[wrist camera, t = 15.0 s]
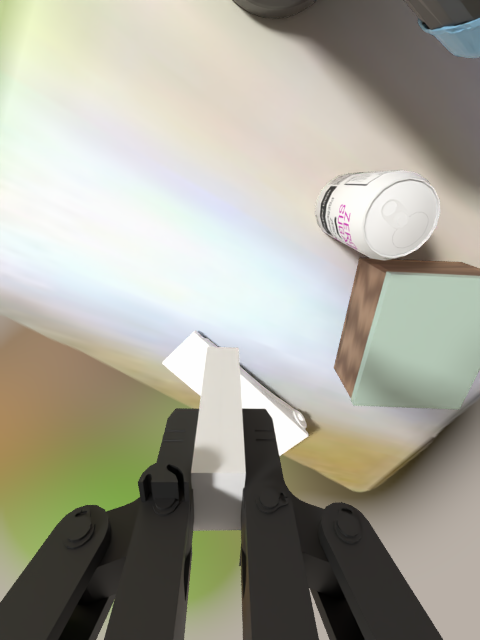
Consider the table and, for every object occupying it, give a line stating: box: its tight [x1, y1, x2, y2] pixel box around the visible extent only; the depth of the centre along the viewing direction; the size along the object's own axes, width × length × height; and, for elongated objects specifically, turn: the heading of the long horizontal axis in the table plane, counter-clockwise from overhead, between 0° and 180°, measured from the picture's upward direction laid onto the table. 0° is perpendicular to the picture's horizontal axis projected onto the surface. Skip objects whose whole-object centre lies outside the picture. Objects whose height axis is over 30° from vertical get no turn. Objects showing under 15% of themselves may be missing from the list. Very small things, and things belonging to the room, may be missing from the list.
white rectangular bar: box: [162, 330, 309, 456], centre depth 52 cm, size 10×7×28 cm
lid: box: [351, 271, 480, 410], centre depth 40 cm, size 21×16×1 cm
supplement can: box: [315, 170, 440, 260], centre depth 33 cm, size 8×8×15 cm
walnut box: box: [334, 258, 480, 397], centre depth 44 cm, size 20×17×8 cm
